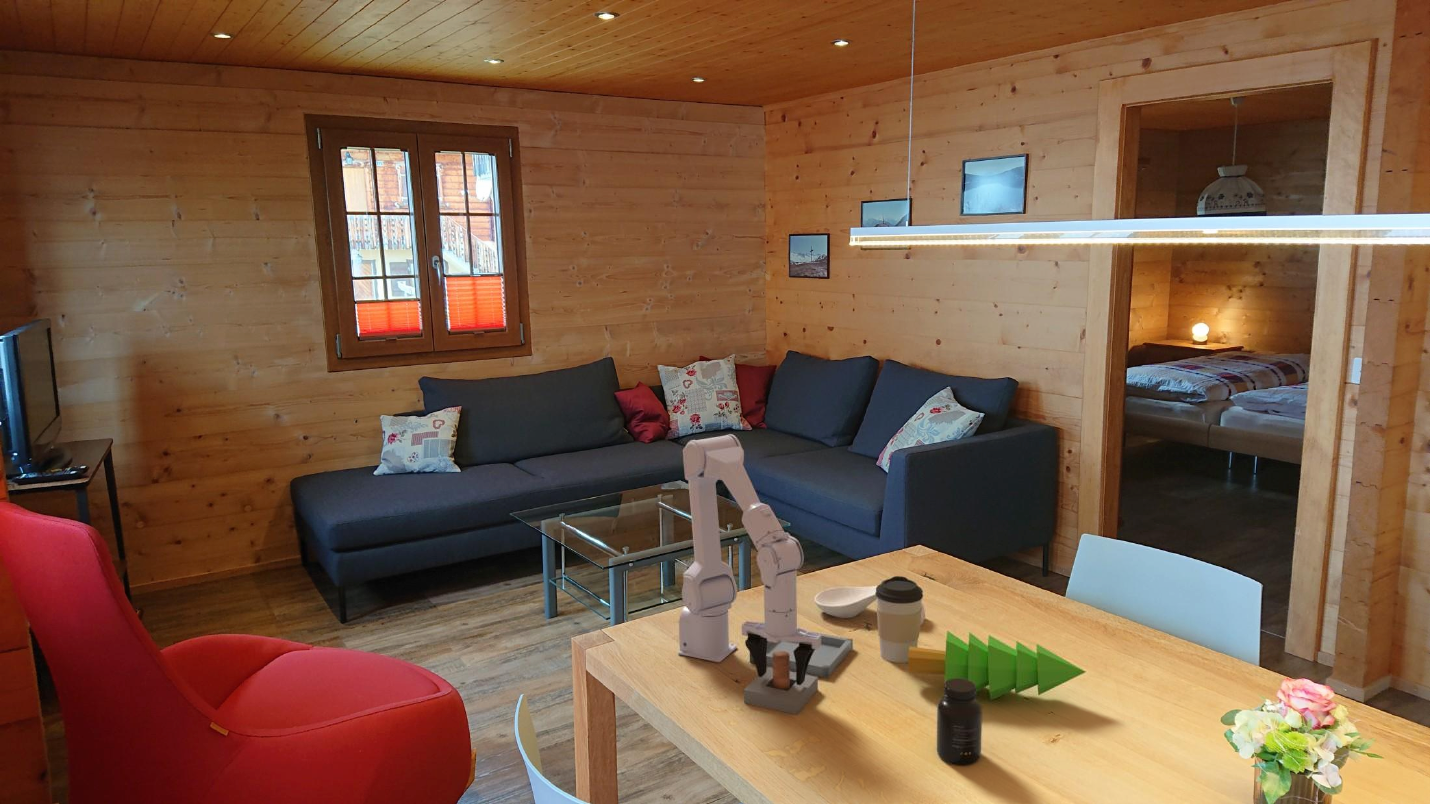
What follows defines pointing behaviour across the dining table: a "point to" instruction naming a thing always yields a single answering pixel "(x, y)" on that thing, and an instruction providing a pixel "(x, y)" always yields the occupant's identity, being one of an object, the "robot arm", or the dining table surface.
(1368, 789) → the dining table surface
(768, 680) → the socket block
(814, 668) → the tray
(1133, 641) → the dining table surface
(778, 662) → the dowel pin
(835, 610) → the spoon rest
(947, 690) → the supplement bottle
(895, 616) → the coffee cup
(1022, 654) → the decorative tree
